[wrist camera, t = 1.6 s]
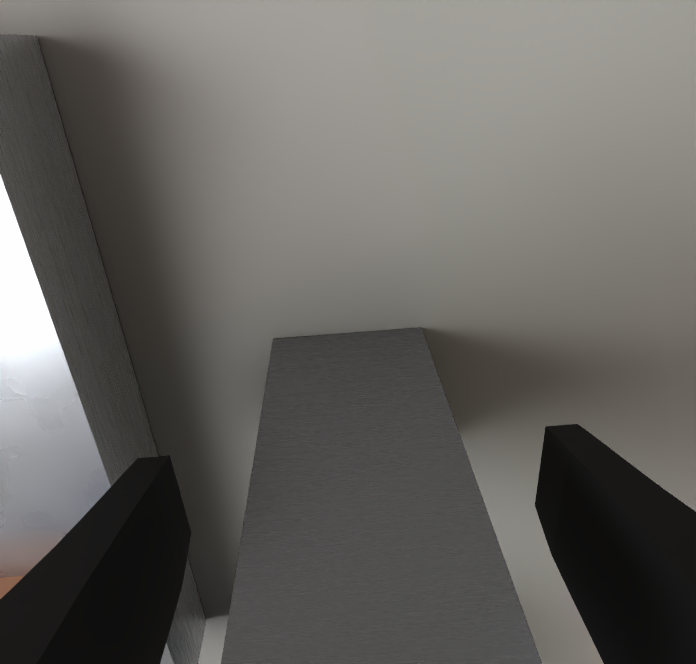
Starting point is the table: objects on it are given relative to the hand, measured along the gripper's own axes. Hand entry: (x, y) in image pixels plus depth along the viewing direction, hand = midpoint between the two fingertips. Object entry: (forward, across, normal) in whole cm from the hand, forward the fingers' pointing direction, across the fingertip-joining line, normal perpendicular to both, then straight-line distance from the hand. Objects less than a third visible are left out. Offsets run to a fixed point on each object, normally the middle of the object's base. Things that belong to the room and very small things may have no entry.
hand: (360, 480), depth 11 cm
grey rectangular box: (+3, 0, 0) cm, 3 cm away
